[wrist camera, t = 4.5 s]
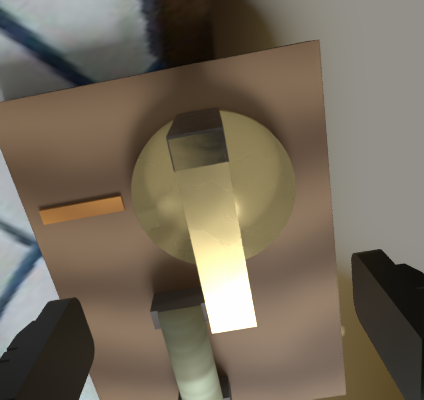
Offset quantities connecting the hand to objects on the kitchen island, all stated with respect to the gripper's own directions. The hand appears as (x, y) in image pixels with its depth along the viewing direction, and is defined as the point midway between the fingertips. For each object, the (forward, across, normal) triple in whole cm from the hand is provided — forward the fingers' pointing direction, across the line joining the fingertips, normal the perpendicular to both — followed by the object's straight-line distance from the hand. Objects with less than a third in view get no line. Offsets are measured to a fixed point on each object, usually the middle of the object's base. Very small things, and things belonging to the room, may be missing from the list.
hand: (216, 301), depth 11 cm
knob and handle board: (+11, +2, +4) cm, 12 cm away
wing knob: (+9, 0, 0) cm, 9 cm away
